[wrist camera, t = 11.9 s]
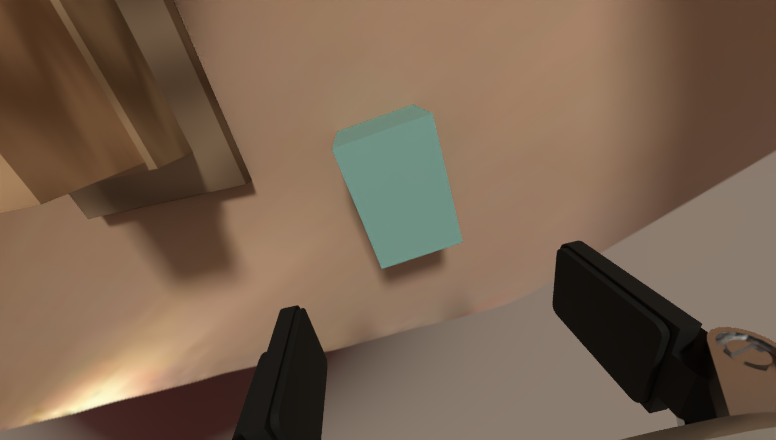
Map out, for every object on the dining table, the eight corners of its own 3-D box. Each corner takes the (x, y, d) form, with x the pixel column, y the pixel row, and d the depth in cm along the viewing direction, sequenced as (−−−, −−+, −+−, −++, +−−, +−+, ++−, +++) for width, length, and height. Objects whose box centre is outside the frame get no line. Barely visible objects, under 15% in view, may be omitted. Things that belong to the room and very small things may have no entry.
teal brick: (337, 131, 22) (331, 148, 16) (413, 104, 21) (432, 113, 16) (376, 229, 26) (381, 269, 20) (439, 207, 25) (462, 242, 20)
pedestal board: (-98, -57, 15) (-300, -117, 10) (127, -105, 15) (25, -186, 10) (100, 212, 22) (34, 247, 18) (251, 179, 22) (224, 205, 18)
